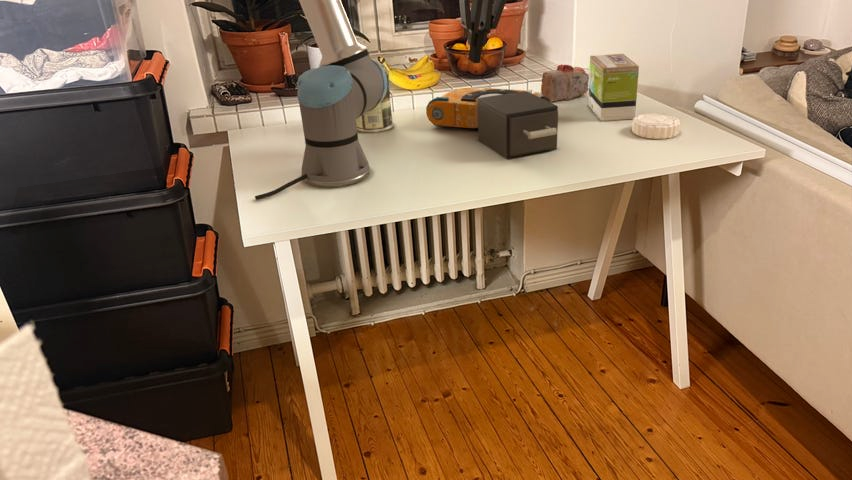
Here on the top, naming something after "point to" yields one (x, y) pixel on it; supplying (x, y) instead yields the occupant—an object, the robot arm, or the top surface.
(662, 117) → the mooncake
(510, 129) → the drawer
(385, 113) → the coffee can
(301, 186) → the top surface
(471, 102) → the device
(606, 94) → the tea box
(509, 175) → the top surface
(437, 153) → the top surface
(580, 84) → the food item
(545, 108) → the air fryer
